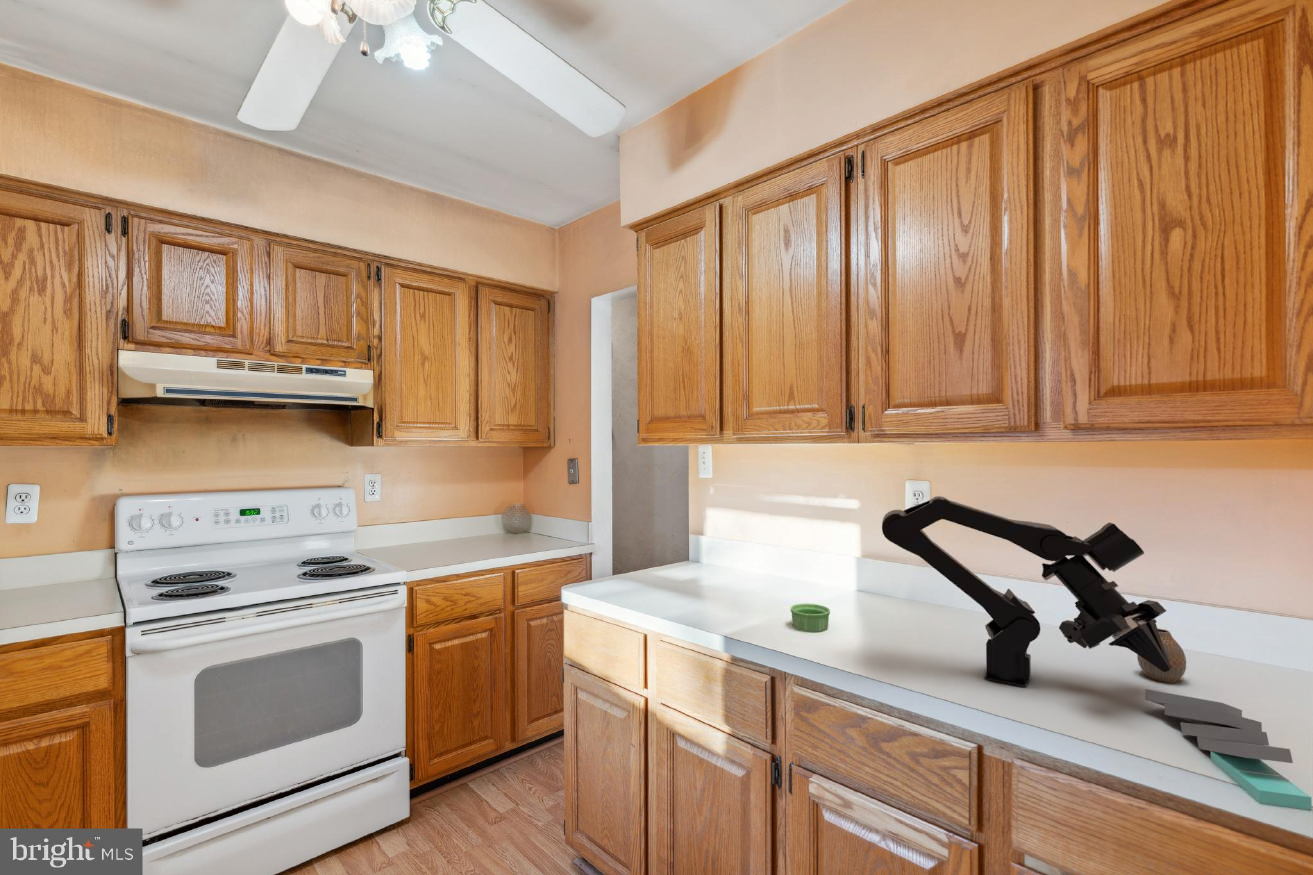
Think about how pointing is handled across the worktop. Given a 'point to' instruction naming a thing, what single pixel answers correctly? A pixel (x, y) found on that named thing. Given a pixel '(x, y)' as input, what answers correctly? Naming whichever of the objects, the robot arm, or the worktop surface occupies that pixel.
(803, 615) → the ramekin
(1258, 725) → the domino
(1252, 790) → the domino
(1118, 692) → the worktop surface
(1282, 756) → the domino
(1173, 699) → the domino
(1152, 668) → the vase
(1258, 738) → the domino
